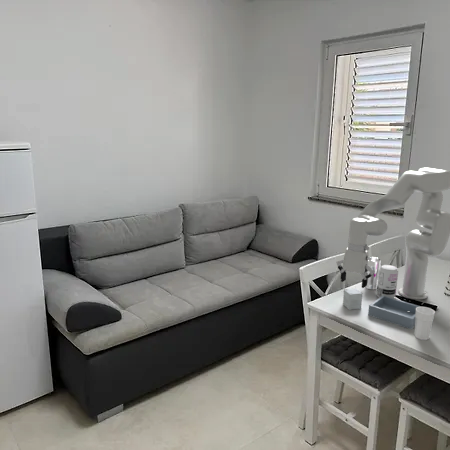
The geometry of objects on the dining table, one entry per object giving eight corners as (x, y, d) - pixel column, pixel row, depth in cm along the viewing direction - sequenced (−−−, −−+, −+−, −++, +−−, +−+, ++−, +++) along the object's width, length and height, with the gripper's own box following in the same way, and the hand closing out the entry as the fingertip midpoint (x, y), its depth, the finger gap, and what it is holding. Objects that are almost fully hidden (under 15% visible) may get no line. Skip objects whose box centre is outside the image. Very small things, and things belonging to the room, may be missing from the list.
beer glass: (366, 283, 210) (369, 255, 206) (380, 287, 206) (383, 258, 202) (361, 288, 205) (363, 259, 201) (375, 291, 201) (378, 262, 197)
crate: (381, 304, 187) (382, 295, 186) (423, 317, 175) (424, 307, 174) (368, 314, 177) (369, 305, 176) (411, 329, 165) (412, 319, 164)
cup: (435, 340, 157) (438, 313, 154) (419, 341, 156) (423, 315, 153) (423, 331, 163) (427, 305, 161) (408, 333, 162) (411, 307, 159)
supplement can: (381, 292, 200) (384, 262, 196) (398, 297, 194) (401, 267, 191) (373, 297, 195) (376, 267, 191) (390, 302, 189) (393, 271, 185)
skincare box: (361, 308, 183) (362, 293, 181) (348, 309, 182) (349, 294, 180) (354, 303, 189) (356, 287, 187) (342, 304, 187) (343, 288, 186)
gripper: (380, 249, 175) (376, 287, 179) (342, 241, 186) (339, 276, 191) (372, 253, 170) (368, 292, 174) (334, 244, 181) (331, 281, 185)
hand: (353, 284), depth 182 cm, fingers open, 9 cm apart
